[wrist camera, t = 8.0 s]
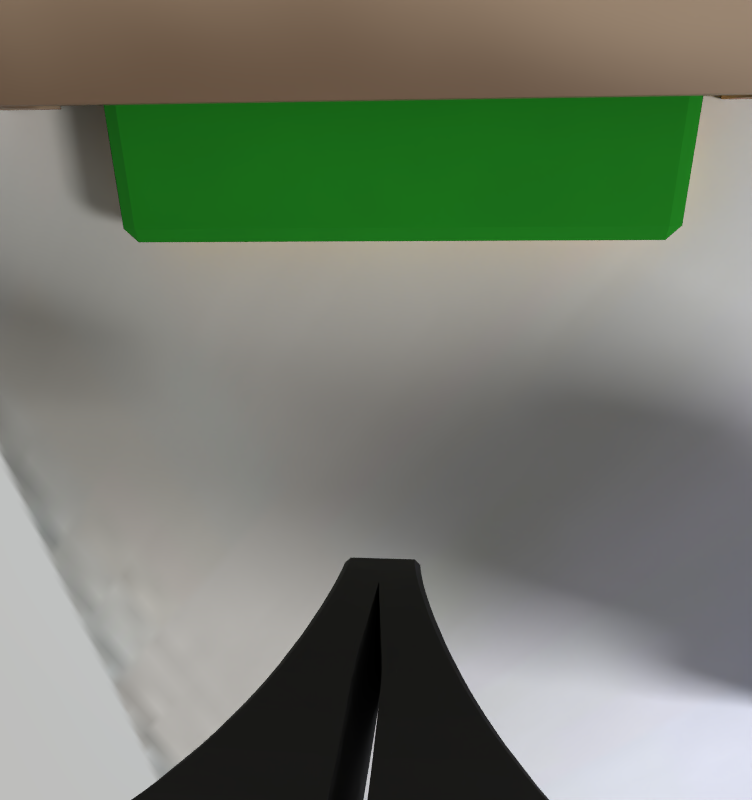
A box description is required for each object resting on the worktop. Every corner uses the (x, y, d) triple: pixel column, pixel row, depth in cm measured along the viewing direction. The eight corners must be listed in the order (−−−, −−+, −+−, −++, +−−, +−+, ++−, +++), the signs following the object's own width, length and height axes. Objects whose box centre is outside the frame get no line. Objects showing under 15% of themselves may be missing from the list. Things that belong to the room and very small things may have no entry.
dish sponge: (117, -66, 16) (67, -97, 14) (695, -88, 15) (741, -124, 13) (159, 228, 19) (123, 242, 17) (649, 226, 18) (681, 241, 16)
